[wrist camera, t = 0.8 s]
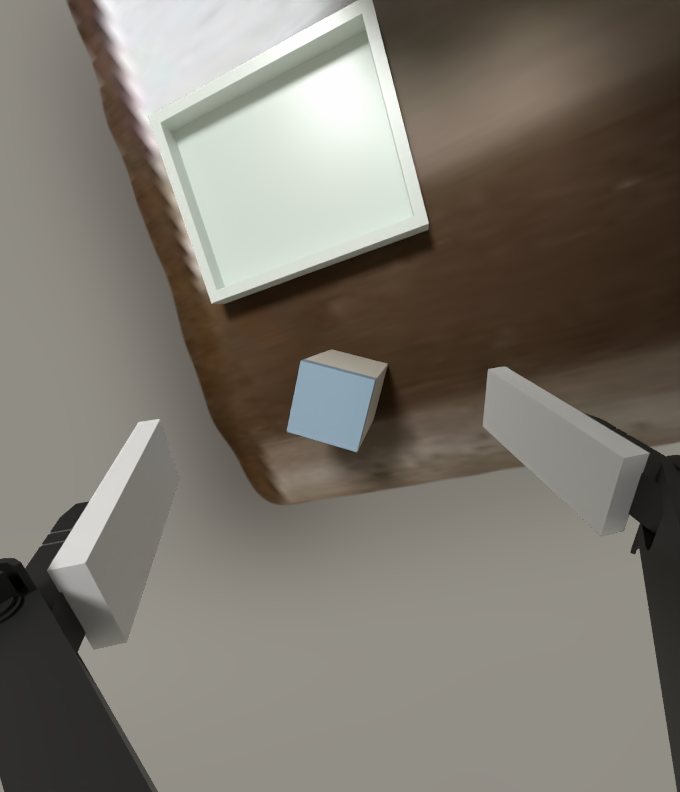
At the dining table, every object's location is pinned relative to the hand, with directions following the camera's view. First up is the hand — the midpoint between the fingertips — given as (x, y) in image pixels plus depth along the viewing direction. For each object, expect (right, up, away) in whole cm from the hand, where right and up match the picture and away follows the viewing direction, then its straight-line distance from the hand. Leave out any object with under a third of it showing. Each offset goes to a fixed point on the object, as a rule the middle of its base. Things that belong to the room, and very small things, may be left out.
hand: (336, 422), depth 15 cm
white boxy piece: (+2, +2, +24) cm, 24 cm away
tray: (-5, +22, +21) cm, 31 cm away
